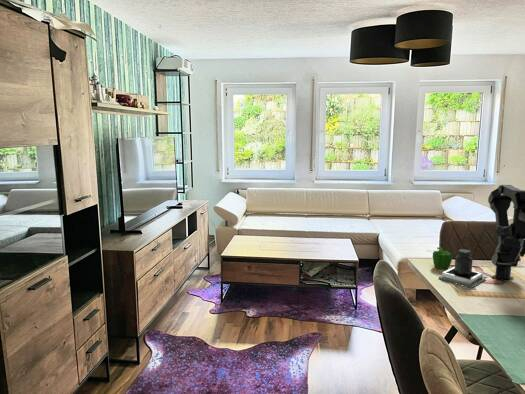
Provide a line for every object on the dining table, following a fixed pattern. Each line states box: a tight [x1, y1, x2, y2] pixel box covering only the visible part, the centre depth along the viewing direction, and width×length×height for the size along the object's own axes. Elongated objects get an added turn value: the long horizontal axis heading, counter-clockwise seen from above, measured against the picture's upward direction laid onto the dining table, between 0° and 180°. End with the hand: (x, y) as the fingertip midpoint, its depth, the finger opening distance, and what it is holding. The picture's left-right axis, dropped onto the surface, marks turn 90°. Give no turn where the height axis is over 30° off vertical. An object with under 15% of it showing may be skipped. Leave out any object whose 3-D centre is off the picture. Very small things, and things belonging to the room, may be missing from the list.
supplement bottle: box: [454, 248, 474, 279], centre depth 175 cm, size 7×7×12 cm
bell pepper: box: [432, 247, 453, 270], centre depth 190 cm, size 8×8×10 cm
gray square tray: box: [438, 266, 487, 288], centre depth 175 cm, size 14×14×3 cm
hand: (517, 258), depth 162 cm, fingers open, 9 cm apart
